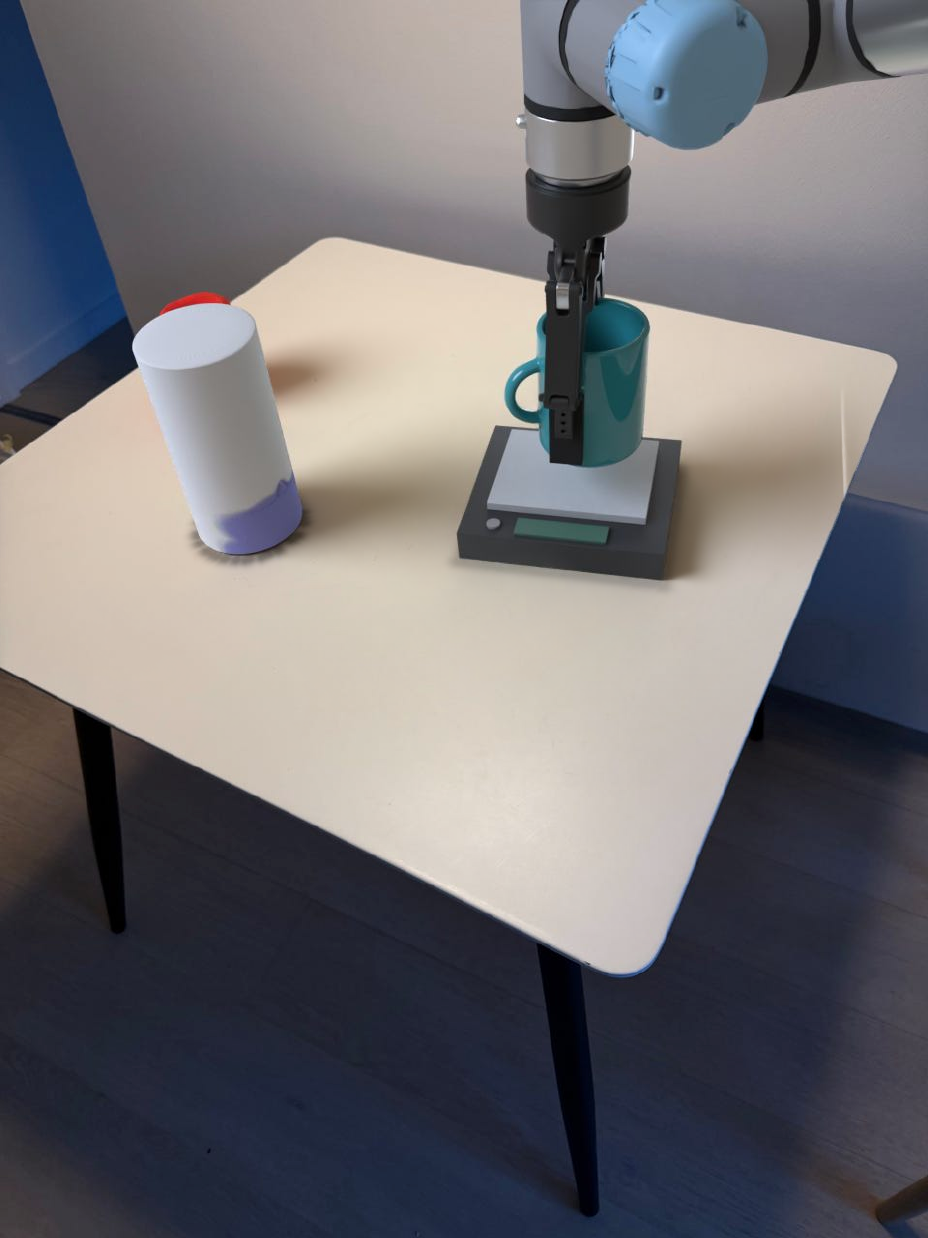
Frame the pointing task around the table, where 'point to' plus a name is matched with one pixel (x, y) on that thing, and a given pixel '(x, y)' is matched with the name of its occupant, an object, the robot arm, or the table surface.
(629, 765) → the table surface
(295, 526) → the container
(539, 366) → the cup
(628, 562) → the scale
